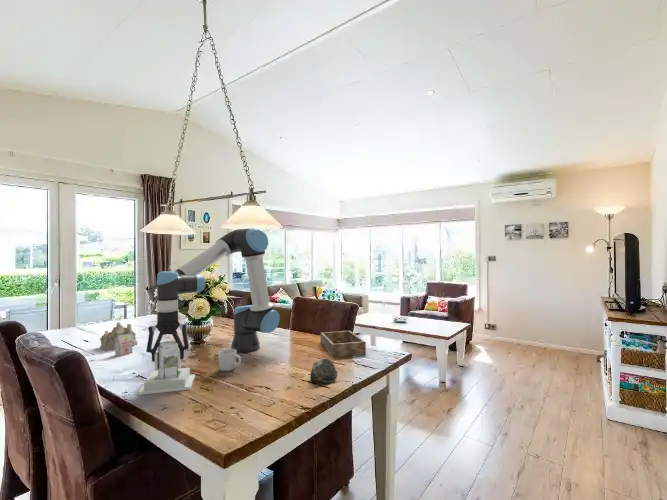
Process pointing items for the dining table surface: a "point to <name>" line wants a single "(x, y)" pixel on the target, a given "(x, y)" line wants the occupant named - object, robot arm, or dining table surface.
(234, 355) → the cup
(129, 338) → the tea bag
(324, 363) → the fossil
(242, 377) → the dining table surface
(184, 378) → the white tray
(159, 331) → the robot arm
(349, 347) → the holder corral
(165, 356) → the syrup box
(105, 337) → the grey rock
